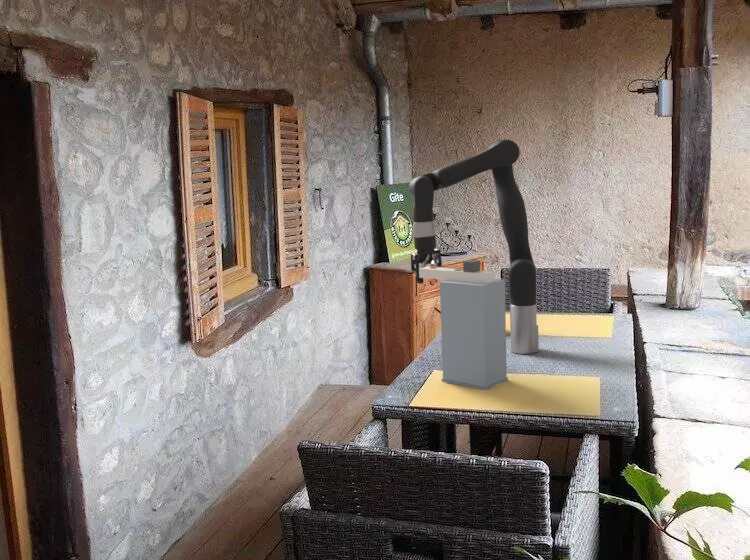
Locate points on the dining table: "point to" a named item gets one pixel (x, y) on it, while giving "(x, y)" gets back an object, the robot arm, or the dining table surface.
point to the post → (473, 333)
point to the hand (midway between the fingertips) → (427, 281)
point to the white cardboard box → (459, 273)
